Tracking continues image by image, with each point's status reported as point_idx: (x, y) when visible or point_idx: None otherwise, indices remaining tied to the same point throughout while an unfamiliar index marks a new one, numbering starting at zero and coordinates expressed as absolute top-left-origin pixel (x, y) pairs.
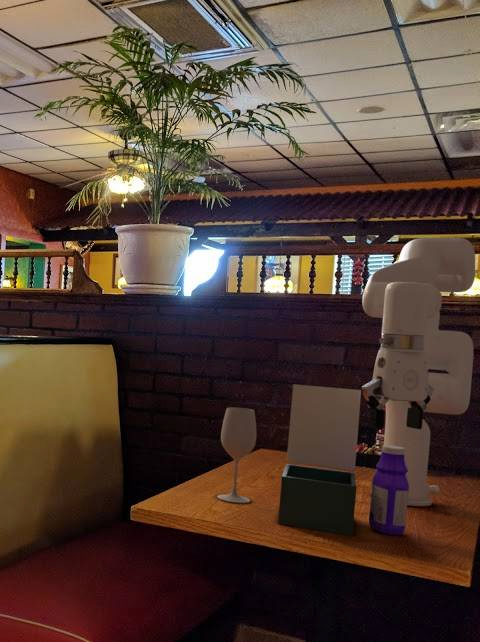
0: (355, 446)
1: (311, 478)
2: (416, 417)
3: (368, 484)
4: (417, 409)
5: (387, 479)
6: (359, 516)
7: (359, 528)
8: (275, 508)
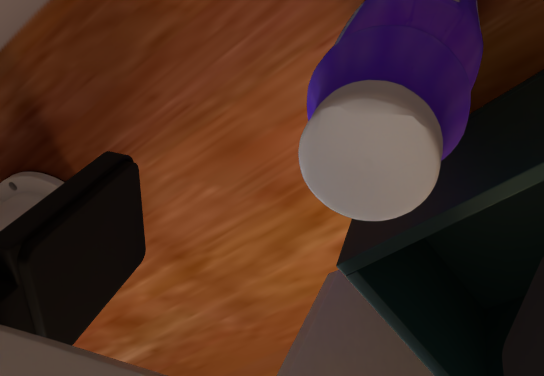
0: (302, 353)
1: (444, 335)
2: (85, 235)
3: None
4: (21, 289)
5: (473, 58)
6: None
7: (477, 81)
8: None
